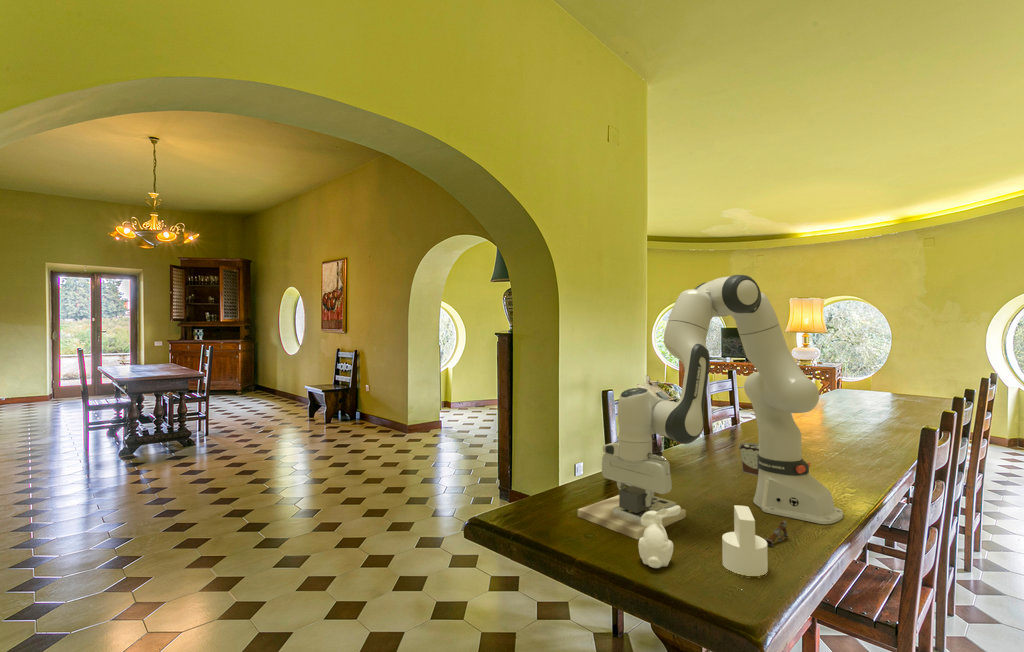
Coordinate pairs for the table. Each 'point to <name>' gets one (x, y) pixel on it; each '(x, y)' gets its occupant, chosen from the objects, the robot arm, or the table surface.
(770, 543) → the wooden post with brackets
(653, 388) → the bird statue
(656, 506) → the socket
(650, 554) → the rabbit
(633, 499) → the plug
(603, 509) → the board
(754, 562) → the cylinder with rectangular tab
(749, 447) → the food container
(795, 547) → the table surface
